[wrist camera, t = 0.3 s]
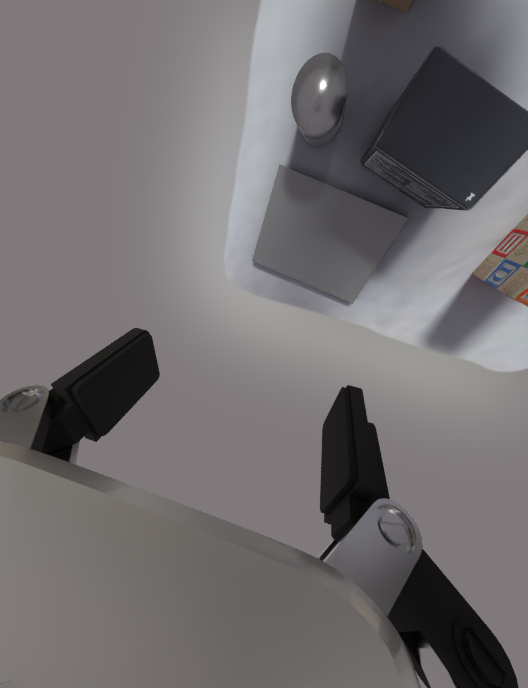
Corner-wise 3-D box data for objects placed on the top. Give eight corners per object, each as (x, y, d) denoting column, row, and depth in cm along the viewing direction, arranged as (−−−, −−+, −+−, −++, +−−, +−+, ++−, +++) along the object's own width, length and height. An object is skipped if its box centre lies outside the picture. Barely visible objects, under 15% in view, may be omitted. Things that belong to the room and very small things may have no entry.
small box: (479, 148, 24) (559, 122, 16) (426, 209, 28) (468, 216, 19) (400, 92, 23) (440, 34, 15) (358, 164, 27) (370, 150, 19)
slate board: (281, 165, 29) (279, 164, 28) (406, 217, 29) (408, 218, 28) (253, 259, 37) (252, 261, 36) (351, 301, 36) (352, 303, 36)
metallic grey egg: (310, 78, 24) (304, 43, 18) (352, 95, 24) (358, 65, 18) (293, 137, 27) (283, 122, 22) (330, 152, 27) (329, 141, 21)
